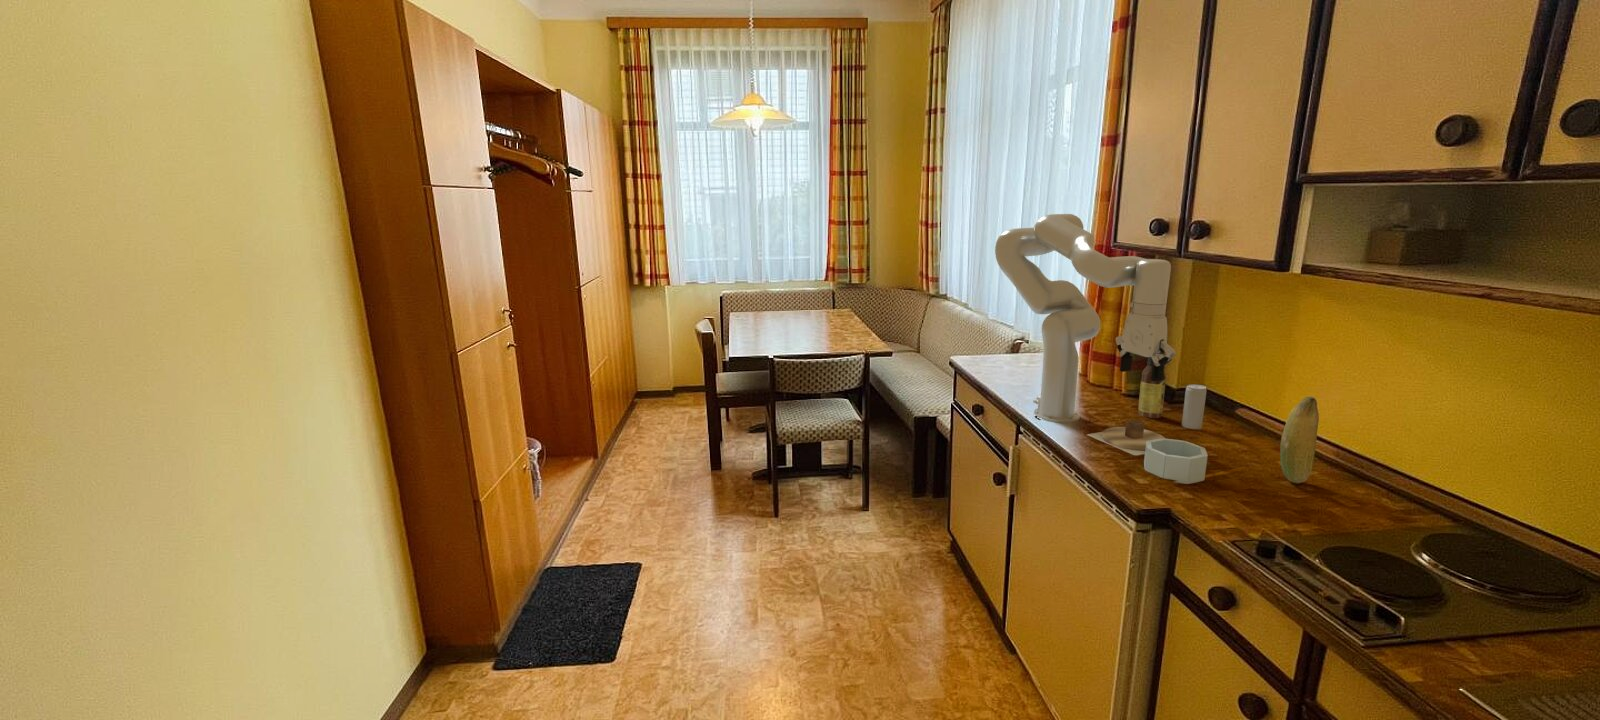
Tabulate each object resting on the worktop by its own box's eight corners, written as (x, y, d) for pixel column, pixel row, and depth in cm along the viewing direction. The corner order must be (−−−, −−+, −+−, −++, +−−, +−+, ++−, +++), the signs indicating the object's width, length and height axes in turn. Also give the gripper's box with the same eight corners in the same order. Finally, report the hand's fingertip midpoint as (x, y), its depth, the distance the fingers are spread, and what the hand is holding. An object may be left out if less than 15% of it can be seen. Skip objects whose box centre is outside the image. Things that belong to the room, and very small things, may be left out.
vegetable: (1303, 490, 140) (1318, 402, 135) (1269, 481, 145) (1283, 396, 140) (1313, 483, 143) (1328, 397, 139) (1280, 474, 148) (1294, 391, 144)
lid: (1089, 435, 174) (1090, 417, 172) (1132, 427, 179) (1133, 410, 177) (1134, 454, 160) (1136, 435, 159) (1179, 445, 165) (1182, 427, 164)
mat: (1086, 436, 174) (1086, 434, 174) (1131, 428, 179) (1132, 426, 179) (1134, 457, 159) (1134, 455, 159) (1182, 448, 165) (1183, 446, 165)
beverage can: (1200, 426, 180) (1206, 385, 177) (1201, 432, 176) (1207, 389, 173) (1180, 424, 182) (1185, 383, 179) (1181, 429, 178) (1186, 387, 175)
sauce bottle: (1164, 420, 185) (1172, 353, 181) (1141, 419, 187) (1148, 352, 182) (1157, 413, 192) (1165, 348, 187) (1134, 412, 193) (1141, 347, 188)
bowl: (1132, 466, 154) (1134, 443, 153) (1169, 459, 158) (1172, 436, 157) (1176, 486, 143) (1179, 461, 142) (1215, 478, 147) (1219, 453, 146)
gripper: (1109, 305, 167) (1102, 369, 172) (1166, 316, 152) (1157, 386, 156) (1131, 303, 170) (1124, 366, 174) (1190, 314, 154) (1181, 382, 158)
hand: (1140, 375), depth 165 cm, fingers open, 9 cm apart
